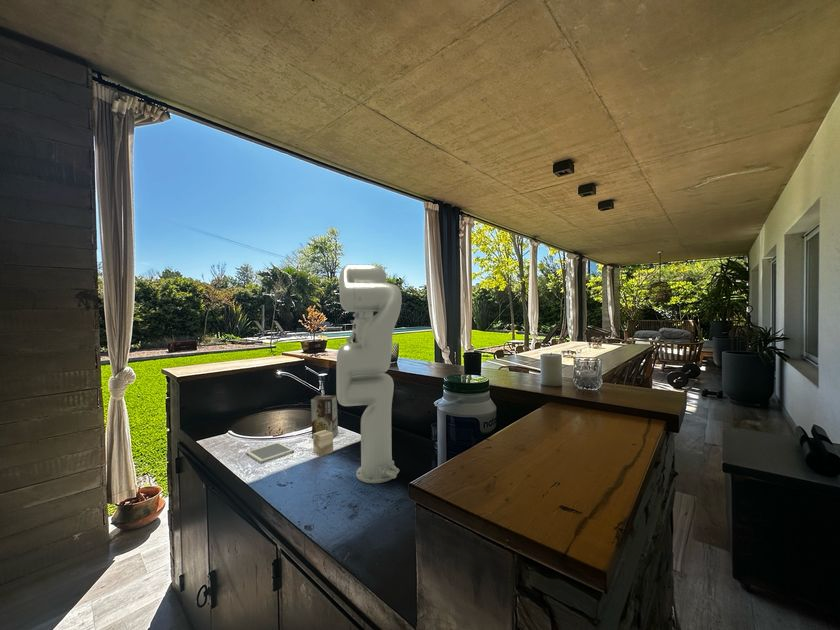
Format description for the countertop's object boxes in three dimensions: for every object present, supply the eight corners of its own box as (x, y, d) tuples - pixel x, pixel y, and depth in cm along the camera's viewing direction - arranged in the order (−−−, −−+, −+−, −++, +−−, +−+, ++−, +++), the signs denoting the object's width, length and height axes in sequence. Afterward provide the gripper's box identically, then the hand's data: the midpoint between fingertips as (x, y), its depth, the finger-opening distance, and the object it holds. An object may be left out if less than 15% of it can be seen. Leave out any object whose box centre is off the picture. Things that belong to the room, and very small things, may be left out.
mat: (294, 452, 125) (294, 449, 125) (261, 463, 116) (260, 460, 116) (278, 444, 133) (278, 441, 133) (246, 454, 123) (246, 451, 123)
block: (333, 451, 125) (332, 432, 125) (321, 456, 121) (320, 436, 121) (325, 448, 128) (325, 429, 128) (313, 452, 124) (313, 433, 124)
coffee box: (338, 433, 144) (337, 395, 144) (333, 438, 138) (332, 398, 138) (317, 432, 145) (317, 394, 145) (311, 438, 139) (310, 398, 139)
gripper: (352, 316, 133) (352, 360, 133) (385, 316, 145) (386, 356, 146) (341, 316, 138) (341, 359, 138) (374, 316, 151) (374, 354, 151)
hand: (364, 357), depth 142 cm, fingers open, 9 cm apart
